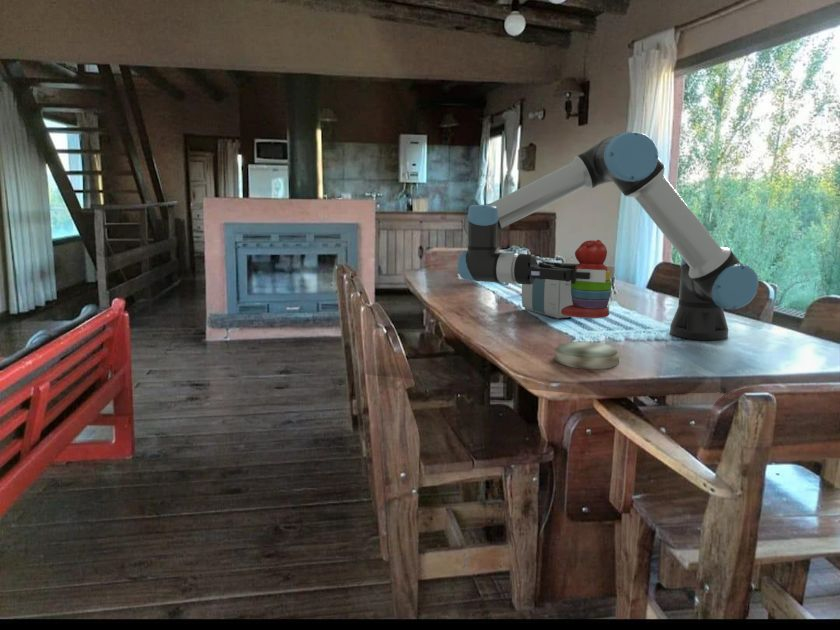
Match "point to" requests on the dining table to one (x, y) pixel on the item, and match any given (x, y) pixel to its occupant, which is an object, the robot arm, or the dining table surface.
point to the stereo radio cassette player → (547, 296)
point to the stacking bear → (590, 284)
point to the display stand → (587, 355)
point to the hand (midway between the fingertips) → (609, 274)
